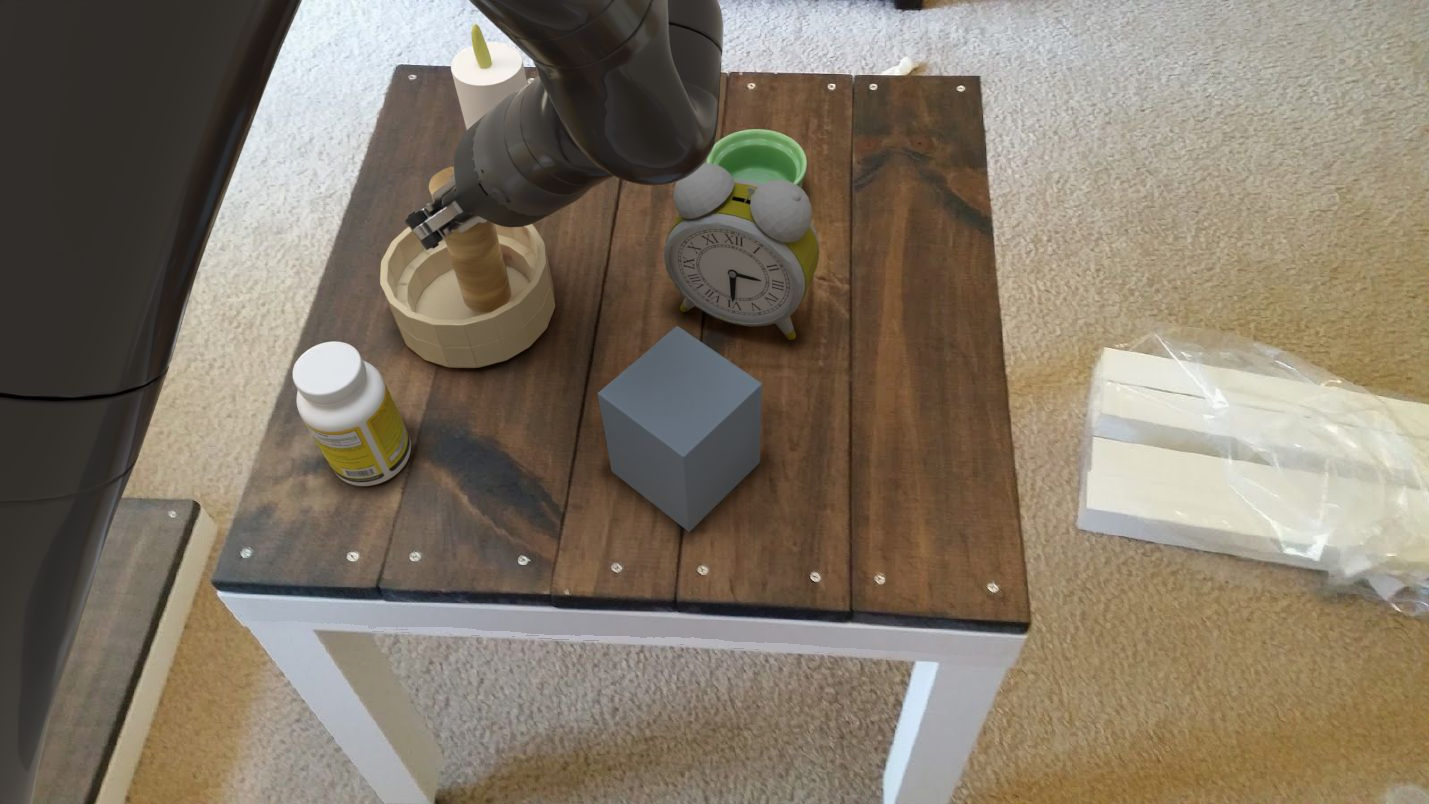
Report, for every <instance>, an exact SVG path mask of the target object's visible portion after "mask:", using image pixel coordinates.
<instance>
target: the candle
mask: <svg viewBox="0 0 1429 804" xmlns="http://www.w3.org/2000/svg"><path fill="white" fill-rule="evenodd" d="M470 34H471V35H470V36H471V38H470V39H471V45H469V46H467V47H465V48H463V49H462V50H460V51H459V52H458V53H457V54H456V55H454V57H453V58H452V61H451V63H450V72H451V75H452V79H453V82H454V87H455V90H456V94H457V97H458V98H457V99H458V103H459V106H460V110H461V114H462V117H463V123H464V125H465V129H466V131H467V130H468V129H469V128H470V127H471V126H472V125H473V124H475V123H476V122H477V121H478V120H479V119H480V118H482V117H483V116H484V115H485V114H486V113H488V112H489V111H490V110H491V109H492V108H493V107H495V106H496V105H497V104H498V103H499V102H500V101H502V100H503V99H504V98H506V97H507V96H508V95H510V94H512V93H514V92H516V91H518V90H520V89H523V88H524V87H525V86H526V85H528V81H527V75H526V70H525V66H524V61H523V55H522V54H521V52H520V51H519V50H518V49H517V48H516V47H515V46H513V45H511V44H509V43H506V42H500V41H486V40H485V37H484V34H483V32H482V30H481V27H480V25H478V24H477V23H474V24H473V25H472V27H471V32H470Z"/></svg>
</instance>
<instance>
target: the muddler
mask: <svg viewBox="0 0 1429 804" xmlns="http://www.w3.org/2000/svg"><path fill="white" fill-rule="evenodd" d="M453 174H454V165H453V166H449V167H446V168H444V169H440V170H439V171H438V172H436V173H435V174H434V175H433V176H432V177H431V179H430V181H429V183H428V191H429V193H430V197H431V201H432V203H433V202H434V199H433V193H434V192H435V191H437V190H438V189H440V188H441V187H442V186H444V185H445V184H447V183H448V182H449V181H450V176H451V175H453ZM455 188H456V187H455ZM452 232H453V233H452V234H451V235H449V236H448V237H447V235H446V237H445V238H444V239H445V242H446V245H447V249H448V252H449V255H450V258H451V262H452V265H453V268H454V271H455V274H456V278H457V281H458V284H459V287H460V291H461V294H462V297H463V300H464V303H465V305H466V306H467V307H468V308H469V309H471V310H473V311H476V312H481V313H487V312H493V311H494V310H496V309H498V308H500V307H501V306H503V305H505V304H507V302H508V301H509V300H510V297H511V294H512V291H511V286H510V283H509V279H508V275H507V271H506V267H505V263H504V259H503V255H502V251H501V247H500V243H499V240H498V236H497V232H496V228H495V224H494V223H491V222H489V221H488V222H486V223H478V224H476V225H475V226H473V227H471V228H470V229H468V230H467V231H465V232H464V233H459V232H458V231H456V230H453V231H452Z"/></svg>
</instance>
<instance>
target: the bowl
mask: <svg viewBox="0 0 1429 804" xmlns="http://www.w3.org/2000/svg"><path fill="white" fill-rule="evenodd" d="M495 228H496V232H497V236H498V240H499V243H500V247H501V251H502V255H503V259H504V263H505V267H506V271H507V275H508V279H509V283H510V286H511V291H512V294H511V297H510V300H509V301H508V302H507V304H505V305H503V306H501V307H500V308H498V309H496V310H494V311H493V312H487V313H481V312H476V311H473V310H471V309H469V308H468V307H467V306H466V305H465V303H464V300H463V297H462V294H461V291H460V287H459V284H458V281H457V278H456V274H455V271H454V268H453V265H452V262H451V258H450V255H449V252H448V249H447V245H446V242H445V239H442V240H441V241H440V242H439V243H438V244H439V245H438V246H437V247H435V248H434V249H433V248H430V249H428V250H426V249H425V248H424V247H423V245H422V243H421V242H420V241H419V239H418V238H417V237H416V235H415V234H414V233H413V231H412V230H411V229H410V227H409V226H408V225H407V227H406V228H405V229H404V230H403V231H401V233H400V234H398V235H397V236H396V237H395V238H394V239H393V240H392V241H391V243H390V244H389V246H388V248H387V250H386V252H385V254H384V255H383V257H382V259H381V261H380V272H379V273H380V274H379V284H380V287H381V289H382V292H383V295H384V297H385V299H386V302H387V305H388V307H389V309H390V312H391V314H392V317H393V320H394V322H395V324H396V327H397V329H398V332H399V333H400V335H401V337H402V339H403V341H404V344H405V345H406V346H407V347H408V348H409V349H411V351H413V352H414V353H415V354H417V355H418V356H419V357H420V358H421V359H423V360H424V361H426V362H430V363H433V364H437V365H440V366H442V367H445V368H454V369H455V368H456V369H459V368H460V369H463V368H464V369H477V368H479V369H480V368H483V367H487V366H490V365H494V364H497V363H498V364H499V363H502V362H505V361H508V360H509V359H511V358H513V357H515V356H517V355H518V354H520V353H521V352H524V351H525V350H527V349H529V348H530V347H531V346H532V345H533V344H534V343H535V342H536V341H537V340H538V338H539V337H541V335H543V333H544V332H545V331H546V330H547V329H548V326H549V324H550V321H551V319H552V317H553V313H554V311H555V308H556V299H555V297H556V296H555V287H554V283H553V277H552V273H551V268H550V263H549V258H548V253H547V247H546V243H545V241H544V240H543V238H542V236H541V235H540V233H539V231H538V230H537V228H536V227H535V225H534V223H533V224H531V225H527V226H523V227H504V226H500V225H497V224H495Z"/></svg>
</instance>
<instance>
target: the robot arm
mask: <svg viewBox="0 0 1429 804" xmlns="http://www.w3.org/2000/svg"><path fill="white" fill-rule="evenodd" d="M468 1H469V2H470V3H471V5H473V6H474V7H475V8H476V9H477V10H478V12H480V13H481V14H482V15H483V16H484V17H485V18H487V20H489V22H491V23H492V24H493V25H494V26H495V27H496V28H497V29H498V30H499V31H500V32H501V33H503V34H504V35H505V36H506V37H507V38H508V39H509V40H510V41H511V42H512V43H513V44H514V45H515V46H516V47H517V48H518V49H520V51H521V52H523V53H524V54H525V55H526V56H527V57H528V58H530V59H531V60H532V62H533V64H534V68H535V70H536V72H537V76H536V77H534V78H533V79H532V80H531V81H530V82H529V83H527V85H526V86H525V87H524V88H523V89H520V90H518V91H516V92H514V93H512V94H510V95H508V96H507V97H506V98H504V99H503V100H502V101H500V102H499V103H498V104H497V105H496V106H495V107H493V108H492V109H491V110H490V111H489V112H488V113H486V114H485V115H484V116H483V117H482V118H480V119H479V120H478V121H477V122H476V123H475V124H473V125H472V126H471V127H470V128H469V129H468V130H467V129H466V131H465V132H464V133H463V135H462V136H461V137H460V139H459V141H458V143H457V146H456V148H455V152H454V157H453V166H454V174H453V175H451V176H450V181H449V182H448V183H447V184H445V185H444V186H442V187H441V188H440V189H438V190H437V191H435V192H434V193H433V199H434V202H433V201H432V202H431V201H429V202H428V203H426V204H425V205H424V207H423V208H421V209H420V210H418V211H417V212H416V211H412V212H411V213H410V214H408V215H407V219H405V221H404V223H405V224H406V226H407V227H408V226H409V227H410V229H411V230H412V231H413V233H414V234H415V235H416V237H417V238H418V239H419V241H420V242H421V243H422V245H423V247H424V248H425V249H426V250H428V249H430V248H433V249H434V248H435V247H437V246H438V245H439V244H438V243H439V242H440V241H441V240H442V239H444V238H445V237H446V235H447V237H448V236H449V235H451V234H452V233H453V232H452V231H453V230H456V231H458V232H459V233H464V232H465V231H467V230H468V229H470V228H471V227H473V226H475V225H476V224H478V223H486V222H488V221H489V222H491V223H494V224H497V225H500V226H504V227H523V226H527V225H531V224H533V225H534V224H535V223H537V222H539V221H541V220H543V219H545V218H547V217H549V216H550V215H553V214H555V213H556V212H558V211H560V210H562V209H563V208H566V207H568V206H569V205H572V204H574V203H575V202H577V201H579V199H581V198H582V197H584V195H586V194H587V193H588V192H589V191H590V190H591V189H593V188H595V187H596V186H599V185H600V184H602V183H604V182H606V181H608V180H610V179H612V178H613V177H615V178H618V179H619V180H623V181H625V182H628V183H632V184H636V185H641V186H665V185H670V184H673V183H676V182H677V181H680V180H682V179H684V178H686V177H688V176H689V175H691V174H692V173H694V172H695V171H696V170H698V169H699V168H700V167H701V166H702V165H703V164H704V163H706V162H707V158H708V157H709V155H710V153H711V151H712V149H713V147H714V145H715V144H716V140H717V135H718V129H719V116H720V115H719V114H720V97H721V96H720V95H721V78H722V63H723V61H722V59H723V51H724V49H723V48H724V19H723V13H722V9H721V6H720V2H719V0H468ZM302 2H303V0H0V804H33V801H34V797H35V791H36V784H37V780H38V779H37V778H38V774H39V770H40V764H41V762H42V761H41V760H42V756H43V751H44V747H45V743H46V738H47V734H48V731H49V726H50V723H51V719H52V715H53V712H54V708H55V706H56V705H55V704H56V702H57V698H58V694H59V692H60V687H61V684H62V681H63V678H64V674H65V671H66V670H67V666H68V663H69V660H70V657H71V655H72V651H73V648H74V644H75V641H76V638H77V634H78V631H79V628H80V626H81V625H80V624H81V621H82V618H83V615H84V611H85V609H86V606H87V603H88V599H89V596H90V592H91V589H92V585H93V581H94V578H95V575H96V572H97V569H98V566H99V563H100V560H101V557H102V553H103V550H104V548H105V544H106V541H107V539H108V536H109V532H110V529H111V526H112V524H113V521H114V518H115V515H116V512H117V510H118V507H119V504H120V502H121V499H122V497H123V495H124V492H125V490H126V487H127V485H128V483H129V481H130V478H131V475H132V473H133V471H134V468H135V466H136V464H137V461H138V459H139V456H140V453H141V450H142V447H143V444H144V442H145V439H146V436H147V433H148V431H149V427H150V424H151V421H152V420H153V419H152V418H153V416H154V413H155V410H156V406H157V404H158V401H159V398H160V395H161V392H162V389H163V386H164V383H165V381H166V377H167V375H168V372H169V370H170V369H169V368H170V365H171V363H172V360H173V356H174V353H175V349H176V347H177V342H178V339H179V335H180V331H181V328H182V325H183V323H184V322H183V321H184V317H185V314H186V310H187V307H188V304H189V300H190V297H191V294H192V290H193V287H194V284H195V280H196V278H197V274H198V271H199V268H200V265H201V262H202V259H203V257H204V253H205V251H206V248H207V245H208V242H209V240H210V238H211V234H212V232H213V229H214V226H215V224H216V221H217V218H218V216H219V212H220V210H221V207H222V205H223V202H224V199H225V197H226V194H227V191H228V189H229V186H230V183H231V181H232V179H233V176H234V172H235V170H236V168H237V165H238V162H239V160H240V157H241V154H242V151H243V150H244V146H245V144H246V141H247V138H248V136H249V134H250V131H251V128H252V126H253V123H254V120H255V118H256V115H257V111H258V109H259V106H260V104H261V101H262V99H263V96H264V93H265V90H266V88H267V86H268V83H269V80H270V78H271V74H272V73H273V69H274V67H275V65H276V62H277V59H278V57H279V55H280V53H281V50H282V48H283V45H284V42H285V41H286V38H287V35H288V33H289V32H290V29H291V27H292V24H293V22H294V20H295V17H296V15H297V13H298V11H299V9H300V6H301V4H302ZM455 187H456V188H455Z"/></svg>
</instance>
